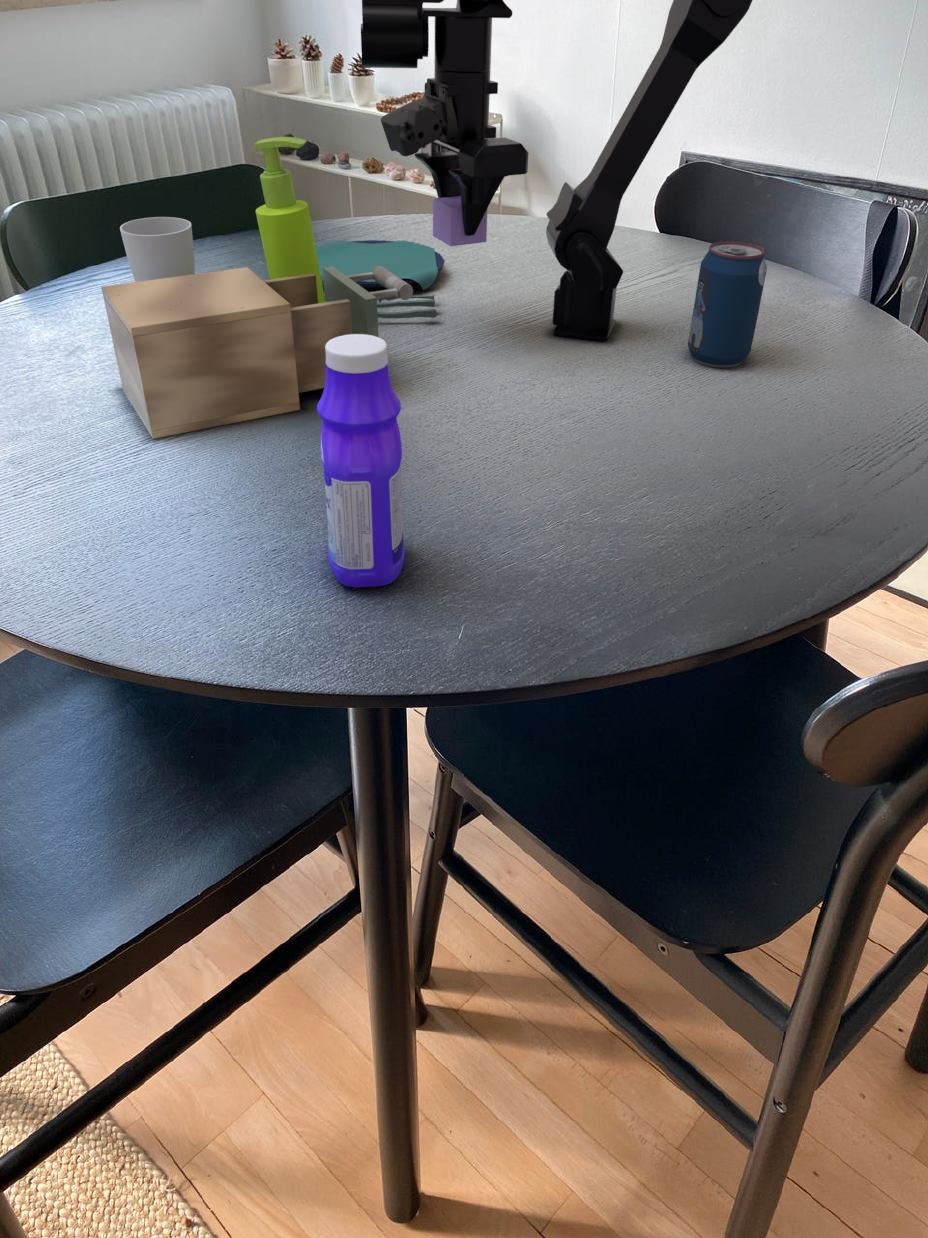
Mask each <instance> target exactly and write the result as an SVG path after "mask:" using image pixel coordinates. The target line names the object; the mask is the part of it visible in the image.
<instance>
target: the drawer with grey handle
mask: <svg viewBox="0 0 928 1238" xmlns="http://www.w3.org/2000/svg"><path fill="white" fill-rule="evenodd" d="M371 279H374V280H375V281H376V282H378V283H379V284H381V285H382V286H384V287H383V288H385V289H383V290H382V289H381V290H376V291H368V290H367V289H365V287H361V286H360V285H358V284H357V283H355V282H358V281H364V280H371ZM262 280H263V281H264V282H265V283H266V284H267V285H269V286H270V287H271V288H272V289H273V290H274V291H276V292H277V293H278V294H279V295H280V296H281V297H283V298H284V299H285V300H286V301H287V302H288V303H290V309H291V319H292V330H293V340H294V351H295V362H296V372H297V383H298V393H305V392H310V391H316V390H321V389H324V388H325V381H326V351H325V345H326V343H327V342H328V341H329V340H331V339H333V338H336V337H339V336H343V335H349V334H366V335H372V336H376V337H379V319H378V318H379V317H378V315H377V312H378V307H377V303H378V300H377V299H379V298H386V297H392V296H398V297H400V298H399V299H401V300H402V301H409V300H410V299H412V298H411V296H413V295H414V289H413V286H412V285H411V284H410V283H406V282H405V281H403V280H402V279H400V278H399V277H397V276H395V275H394V274H392V273H391V272H389V271H388V270H386V269H385V268H383V267H382V266H376V267H374V268H373V270H372V272H369V273H362V274H355V275H348V276H346V275H344V274H343V273H341V272H340V271H339V270H337V269H336V268H334V267H333V266H332V267H325V268H323V280H324V286H323V291H324V296H325V303H319V304H318V296H317V283H316V275H315V274H313V273H312V274H305V275H298V276H290V277H283V278H276V279H270V278H269V279H262Z"/></svg>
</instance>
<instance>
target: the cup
mask: <svg viewBox="0 0 928 1238" xmlns="http://www.w3.org/2000/svg"><path fill="white" fill-rule="evenodd" d="M192 227H193V225H192V222H191V221H190V220H187V219H184V218H180V217H174V216H172V217H171V216H153V217H152V216H151V217H144V218H138V219H132V220H129V221H127V222H124V223H123V224H121V225H120V227H119V230H120V236H121V239H122V242H123V246H124V251H125V254H126V258H127V262H128V266H129V268H130V271H131V274H132V276H133V279H134V282H140V281H148V280H155V279H163V278H170V277H178V276H185V275H193V274H196V259H195V247H194V237H193V228H192Z"/></svg>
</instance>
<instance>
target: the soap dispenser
mask: <svg viewBox="0 0 928 1238" xmlns="http://www.w3.org/2000/svg"><path fill="white" fill-rule="evenodd" d="M307 142H308V140H307V139H303V138H299V137H293V136H275V137H270V138H263V139H259V140H257V141H256V142H254V143H253V147H254V150H255V151H257V150H262V155H263V159H264V164H265V170H263V173H261V174H260V175H259V180H260V184H261V190H262V194H263V199H264V203H265V204H263V205H261V206H259V207H257V208H256V209H255V215H256V221H257V226H258V229H259V234H260V239H261V244H262V249H263V254H264V257H265V262H266V267H267V273H268V277H269V279H276V278H283V277H290V276H298V275H305V274H312V273H313V274H315V275H316V283H317V296H318V304H319V303H325V297H324V296H325V293H324V286H323V285H322V280H321V274H320V269H319V263H318V258H317V252H316V246H317V245H316V241H315V236H314V235H315V234H314V231H313V225H312V219H311V214H310V208H309V203H308V202H307V201H305V200H301V199H296V194H295V189H294V183H293V176H292V172H291V171H290V170H289V169H287V168H285V167H282V161H281V156H280V150H279V148H292V149H293V148H294V149H297V150H299V149H300V148H302V147H303V146H305V144H306V143H307Z"/></svg>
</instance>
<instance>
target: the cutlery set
mask: <svg viewBox="0 0 928 1238" xmlns="http://www.w3.org/2000/svg"><path fill="white" fill-rule="evenodd" d="M315 246H316V252H317V258H318V263H319V269H320V274H321V280H322V286H323V287H324V280H323V268H325V267H332V266H333V267H334V268H336V269H337V270H339V271H340V272H341V273H343V274H344V275H346V276H348V275H355V274H362V273H369V272H372V270H373V268H374V267H376V266H382V267H383V268H385V269H386V270H388V271H389V272H391V273H392V274H394V275H395V276H397V277H399V278H400V279H402V280H403V281H405V282H406V283H408V284H413V283H418V285H420V287H421V288H422V290H423V291H425V290H427V289H428V288H430V286H432V285H433V283H434V282H435V280H436V279H437V276H438V273H439V272H441V271H442V270H443V267H444V264H445V262H446V261H445V259H444V257H443V256H442V255H441V253H439V252H437V251H436V249H435V248H434V247H431V246H429V245H425V244H421V243H419V242H414V241H409V240H396V241H395V240H378V239H376V240H375V239H374V240H373V239H371V240H369V239H368V240H351V241H350V240H342V239H341V240H340V239H339V240H333V241H329V242H325V243H321V244H317V245H315ZM355 283H357V284H358V285H360V286H361V287H362V288H385V287H384V286H382V285H381V284H379V283H378V282H376V281H375V280H374V279H371V280H364V281H358V282H355ZM324 297H325V295H324ZM396 299H401V298H400V297H398V296H392V297H386V298H379V299H377V308H391V307H429V309H427V308H425V309H413V310H405V311H389V312H386V311H384V312H383V311H377V315H378V318H381V319H413V318H431V319H434V318H437V309H436V308H435V307H436V300H435V294H432V295H412V296H411V298H410V299H414V300H397V301H393V300H396ZM415 299H416V300H415ZM417 299H418V300H417ZM384 300H386V301H388V302H382V301H384Z"/></svg>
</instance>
